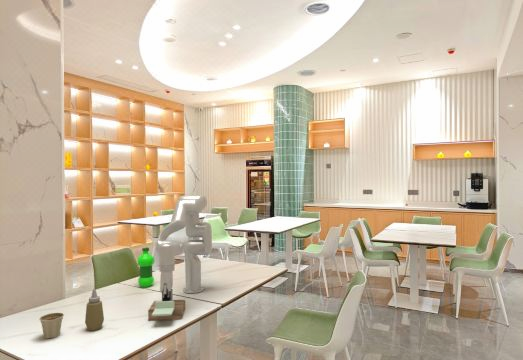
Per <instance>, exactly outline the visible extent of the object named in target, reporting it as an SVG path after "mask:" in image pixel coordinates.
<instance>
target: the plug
mask: <svg viewBox="0 0 523 360" xmlns="http://www.w3.org/2000/svg"><path fill="white" fill-rule="evenodd" d="M167 291H168V290H167ZM173 291H174V290H173V288H172V289H171V290H170V291H169V297H170V301H173V300H174V298H173V295H174V294H173ZM167 294H168V292H167ZM161 301H163V291H162V292H161Z"/></svg>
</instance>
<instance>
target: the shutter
mask: <svg viewBox="0 0 523 360" xmlns="http://www.w3.org/2000/svg"><path fill="white" fill-rule="evenodd" d="M157 301H158V302H155V310H154V312H153V313H152V316H168V315H172V313H173V311H174V301H162V300H157Z"/></svg>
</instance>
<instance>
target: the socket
mask: <svg viewBox="0 0 523 360" xmlns="http://www.w3.org/2000/svg"><path fill="white" fill-rule="evenodd" d="M158 301H159V300H154V301H153V303H152V304H151V305H150V307H149V309H148V310H147V314H148V316H147V317H148V319H147V320H148V321H149V322H151V321H170V320H172V321H173V320H182V319H183V316H184V313H185V311H186V299H173V301H174V311H173V313H172V315H168V316H152V313H153V312H154V310H155V302H158Z"/></svg>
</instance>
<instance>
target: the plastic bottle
mask: <svg viewBox="0 0 523 360" xmlns="http://www.w3.org/2000/svg"><path fill="white" fill-rule="evenodd" d="M141 249H142V250H141V251H142V252H143V253H142V254H141V255H139V257H138V258H137V260H136V261H137V265H138V266H139V276H138V280H137V283H138V284H139V285H140V287H142V288H149V287H151V286H152V285H153V284H154V281H155V278H154V275H153V265H154V263H155V258H154V256H153V255H151V254H150V252H149V251H150V247H148V246H147V247H142V248H141Z"/></svg>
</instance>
